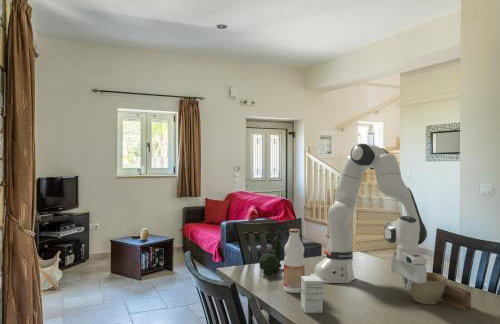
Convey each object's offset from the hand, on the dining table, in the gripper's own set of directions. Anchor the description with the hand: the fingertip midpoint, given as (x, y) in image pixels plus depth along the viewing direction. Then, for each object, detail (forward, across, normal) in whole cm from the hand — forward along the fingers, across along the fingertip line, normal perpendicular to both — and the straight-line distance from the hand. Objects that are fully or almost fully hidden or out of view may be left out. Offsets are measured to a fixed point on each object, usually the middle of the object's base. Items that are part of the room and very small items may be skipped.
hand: (407, 288), depth 169 cm
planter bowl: (+6, -1, +9) cm, 11 cm away
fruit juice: (+6, -25, -42) cm, 49 cm away
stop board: (+6, 0, +19) cm, 20 cm away
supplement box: (+6, 0, -43) cm, 43 cm away
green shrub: (+6, -57, -44) cm, 72 cm away
